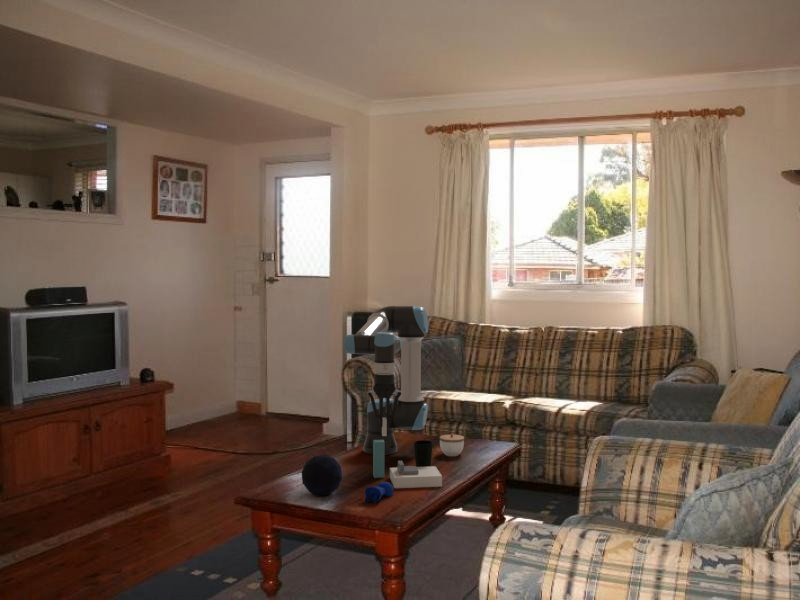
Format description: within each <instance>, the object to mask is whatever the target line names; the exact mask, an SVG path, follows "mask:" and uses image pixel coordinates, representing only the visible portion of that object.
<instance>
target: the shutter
mask: <svg viewBox="0 0 800 600" xmlns="http://www.w3.org/2000/svg"><path fill="white" fill-rule="evenodd" d="M396 468H397V470H398V472H399V474H400V475H406V474H418V469H417V468H416V465H406V466H405V464H404V462H403V460H397V466H396Z"/></svg>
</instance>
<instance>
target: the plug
mask: <svg viewBox="0 0 800 600" xmlns="http://www.w3.org/2000/svg"><path fill="white" fill-rule="evenodd" d="M385 456H386V455H385V442H384V440H373V456H372V460H373V461H372V464H373V465H372V466H373V467H372V470H373V471H372V472H373V473H372V475H373V478H374V479H376V478H377V479H379V478H380V479H381V478H385Z"/></svg>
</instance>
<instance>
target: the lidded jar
mask: <svg viewBox="0 0 800 600" xmlns="http://www.w3.org/2000/svg"><path fill="white" fill-rule="evenodd" d="M464 444H465V437H464V436H463V435H460V434H454V433H453V432H452V433H451V432H450V434H442V435H440V436H439V445H440V450H441V452H442V453H443V454H444V455H445V456H447V457H457V456H459V455H460V454H461V453H462V452H463V449H464V446H465V445H464Z"/></svg>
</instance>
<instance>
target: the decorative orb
mask: <svg viewBox="0 0 800 600" xmlns="http://www.w3.org/2000/svg"><path fill="white" fill-rule="evenodd" d="M342 473H343V471H342V466H341V465H340V464H339V462H338V461H337V460H336V458H334V457H332V456H330V455H328V454H320V455H315V456H313V457H311V458H310V459H309V460H307V461H306V462H305V464H304V466H303V468H302V470H301V482H302V485H303V486H304V487H305V488H306V490H307V491H308V492H309V493H310V494H313V495H315V496H317V497H322V496H327V495H328V496H329V495H331V494H332V493H334V492H335V491H336V490H338V488H339V487H340V484H341V482H342V480H343V474H342Z"/></svg>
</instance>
